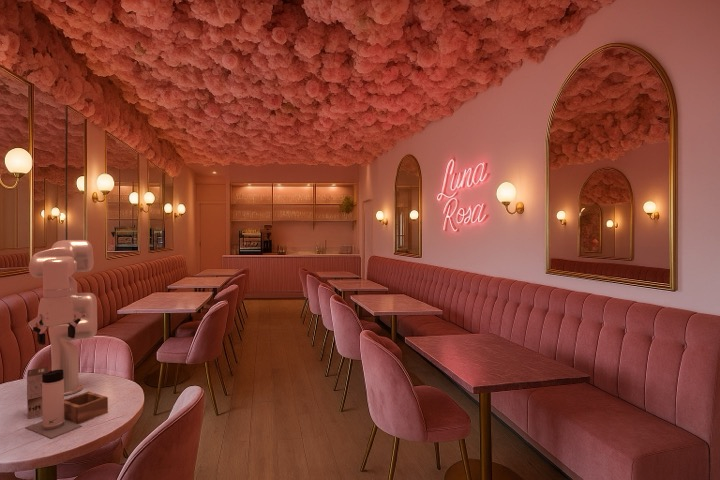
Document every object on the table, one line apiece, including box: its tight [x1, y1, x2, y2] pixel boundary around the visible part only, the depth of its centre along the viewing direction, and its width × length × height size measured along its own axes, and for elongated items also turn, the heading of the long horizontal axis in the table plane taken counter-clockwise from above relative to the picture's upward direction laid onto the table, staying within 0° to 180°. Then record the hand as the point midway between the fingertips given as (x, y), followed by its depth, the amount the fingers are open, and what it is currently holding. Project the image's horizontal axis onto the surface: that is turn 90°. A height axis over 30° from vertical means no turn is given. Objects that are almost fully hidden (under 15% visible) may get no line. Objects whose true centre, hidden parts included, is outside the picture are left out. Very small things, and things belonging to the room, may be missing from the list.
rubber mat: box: [25, 419, 83, 440], centre depth 152 cm, size 16×10×1 cm, turn 64°
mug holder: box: [64, 391, 109, 425], centre depth 162 cm, size 12×11×6 cm
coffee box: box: [26, 366, 49, 419], centre depth 163 cm, size 9×6×16 cm
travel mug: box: [42, 369, 65, 430], centre depth 152 cm, size 6×7×20 cm
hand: (57, 340), depth 153 cm, fingers open, 9 cm apart
